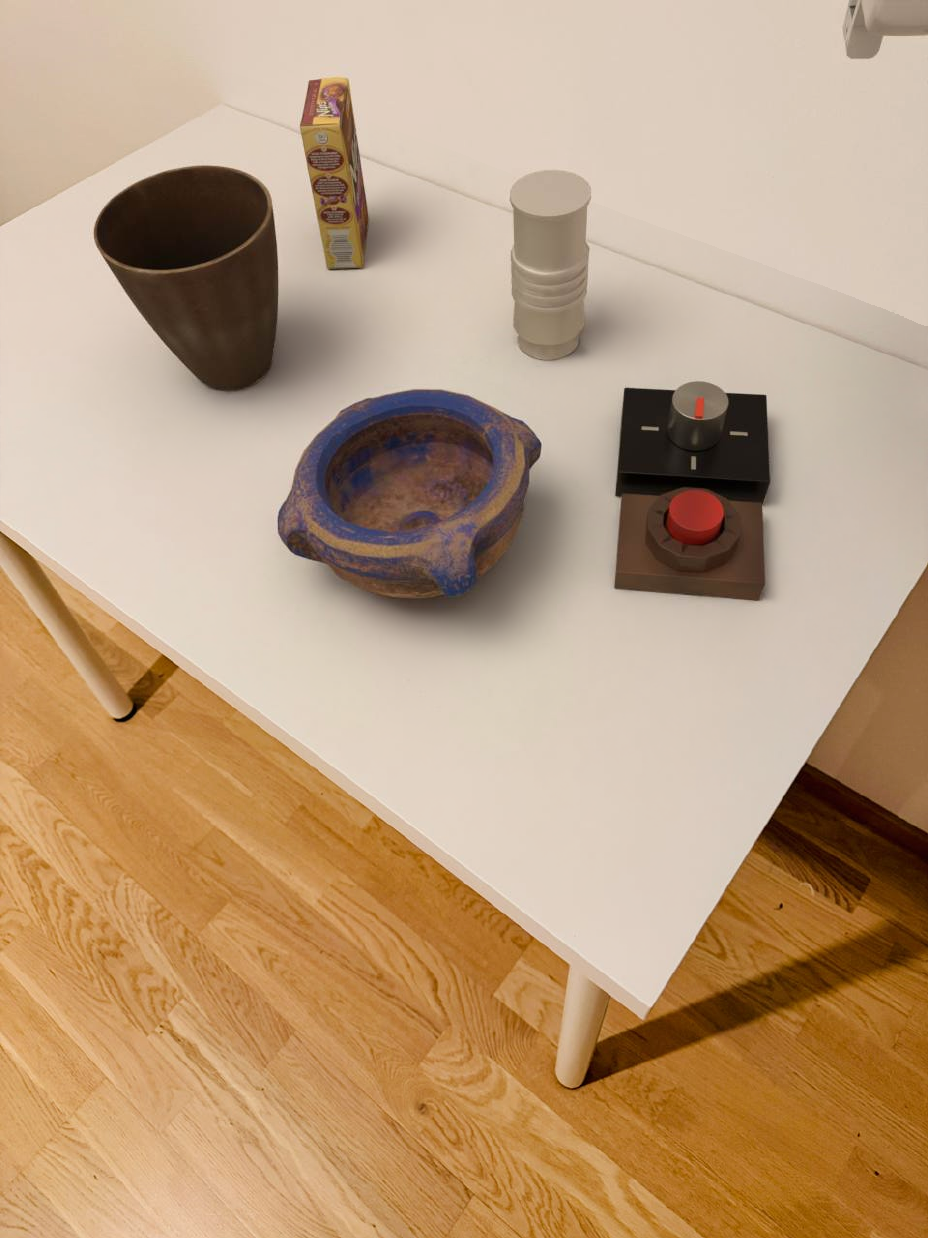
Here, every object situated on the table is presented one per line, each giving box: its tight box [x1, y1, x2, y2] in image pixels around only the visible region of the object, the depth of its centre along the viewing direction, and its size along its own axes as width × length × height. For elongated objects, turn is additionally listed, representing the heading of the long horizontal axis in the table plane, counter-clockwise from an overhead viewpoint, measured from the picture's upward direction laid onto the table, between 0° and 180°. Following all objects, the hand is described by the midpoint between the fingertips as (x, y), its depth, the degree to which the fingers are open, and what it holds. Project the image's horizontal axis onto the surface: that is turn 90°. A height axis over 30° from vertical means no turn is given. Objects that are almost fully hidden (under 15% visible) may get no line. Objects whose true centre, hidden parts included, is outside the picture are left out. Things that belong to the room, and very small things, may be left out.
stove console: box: [614, 387, 771, 507], centre depth 76 cm, size 12×10×3 cm
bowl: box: [277, 388, 542, 599], centre depth 70 cm, size 18×18×10 cm
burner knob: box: [667, 380, 728, 451], centre depth 74 cm, size 4×4×4 cm
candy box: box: [299, 76, 370, 270], centre depth 92 cm, size 9×4×15 cm, turn 179°
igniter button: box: [667, 490, 724, 545], centre depth 68 cm, size 4×4×2 cm
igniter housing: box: [613, 487, 766, 601], centre depth 70 cm, size 11×8×4 cm
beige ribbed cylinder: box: [509, 169, 592, 361], centre depth 81 cm, size 7×7×15 cm
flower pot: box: [93, 164, 279, 392], centre depth 82 cm, size 15×15×16 cm
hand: (858, 46), depth 53 cm, fingers closed
